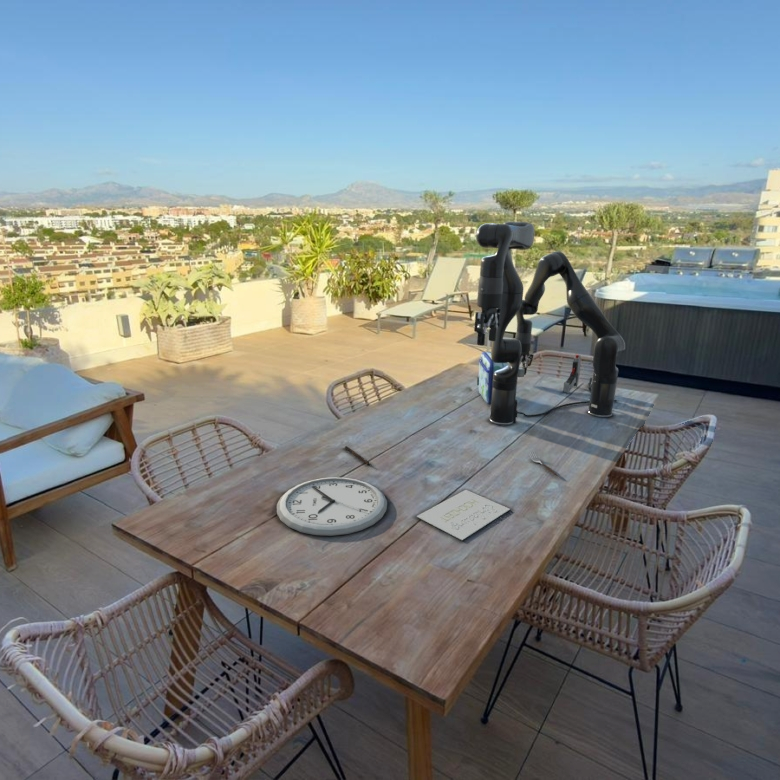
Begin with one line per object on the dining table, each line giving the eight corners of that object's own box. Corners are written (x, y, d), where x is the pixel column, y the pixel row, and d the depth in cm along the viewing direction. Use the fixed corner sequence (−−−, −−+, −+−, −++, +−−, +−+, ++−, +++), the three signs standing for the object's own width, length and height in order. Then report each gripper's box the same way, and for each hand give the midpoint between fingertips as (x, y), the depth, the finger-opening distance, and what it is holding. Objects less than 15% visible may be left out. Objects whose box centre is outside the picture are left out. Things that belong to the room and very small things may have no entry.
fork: (554, 478, 160) (554, 472, 160) (527, 457, 175) (528, 451, 174) (561, 477, 161) (562, 471, 160) (534, 456, 175) (535, 450, 175)
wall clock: (392, 527, 129) (268, 531, 127) (391, 533, 130) (269, 537, 127) (383, 473, 158) (282, 475, 155) (383, 478, 158) (282, 480, 156)
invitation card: (465, 489, 152) (510, 508, 142) (465, 490, 152) (510, 509, 142) (416, 515, 137) (462, 539, 127) (416, 516, 138) (462, 540, 127)
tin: (512, 375, 260) (513, 367, 259) (520, 374, 262) (520, 366, 261) (518, 377, 256) (519, 369, 255) (525, 376, 258) (526, 368, 257)
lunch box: (475, 390, 246) (478, 346, 240) (498, 390, 246) (501, 347, 240) (484, 408, 221) (487, 360, 215) (509, 409, 221) (513, 360, 215)
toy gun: (565, 361, 240) (576, 353, 251) (562, 394, 245) (573, 384, 257) (571, 362, 238) (581, 354, 249) (567, 395, 244) (578, 385, 255)
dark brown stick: (344, 448, 179) (344, 445, 179) (346, 448, 179) (346, 445, 179) (367, 464, 167) (367, 462, 167) (368, 464, 167) (368, 461, 167)
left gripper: (492, 294, 154) (488, 348, 159) (510, 290, 165) (506, 340, 170) (469, 292, 158) (465, 345, 163) (488, 288, 169) (485, 337, 174)
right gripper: (516, 344, 247) (513, 378, 252) (539, 341, 254) (535, 375, 259) (506, 340, 254) (503, 374, 259) (529, 338, 260) (525, 371, 265)
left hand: (486, 342), depth 166 cm, fingers open, 8 cm apart
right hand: (519, 374), depth 259 cm, fingers closed on tin, 4 cm apart
